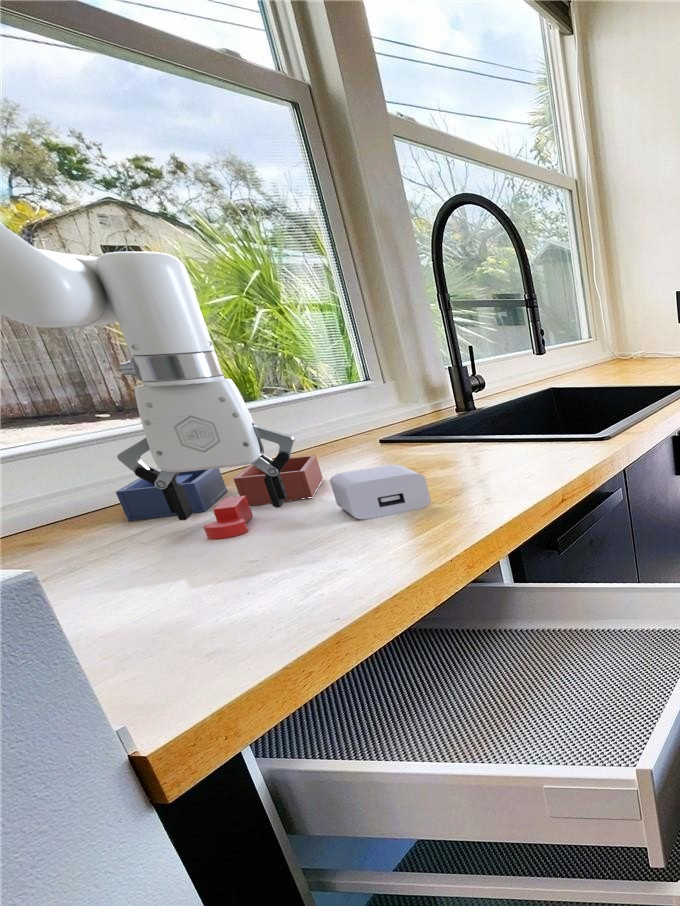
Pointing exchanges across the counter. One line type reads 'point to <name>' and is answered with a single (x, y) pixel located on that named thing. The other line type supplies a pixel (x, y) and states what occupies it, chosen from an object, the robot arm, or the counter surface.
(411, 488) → the charger
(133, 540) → the counter surface
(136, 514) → the navy bin
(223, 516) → the red stamp
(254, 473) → the red bin
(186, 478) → the navy stepped block
